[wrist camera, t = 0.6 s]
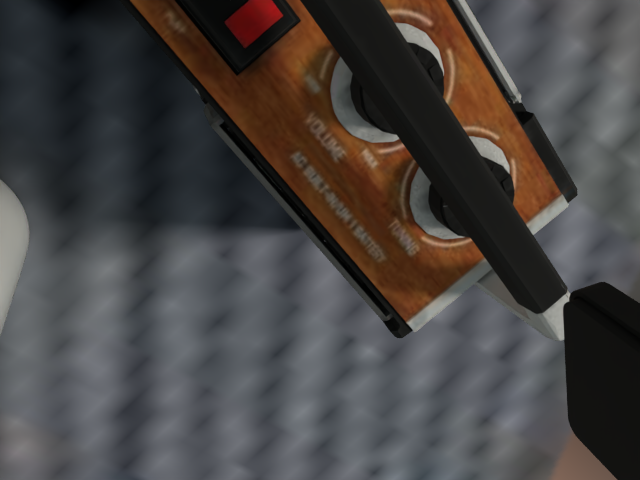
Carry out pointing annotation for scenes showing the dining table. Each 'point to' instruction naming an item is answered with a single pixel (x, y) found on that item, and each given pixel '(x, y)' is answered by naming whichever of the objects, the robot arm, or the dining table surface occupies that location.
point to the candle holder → (11, 247)
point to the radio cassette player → (383, 143)
